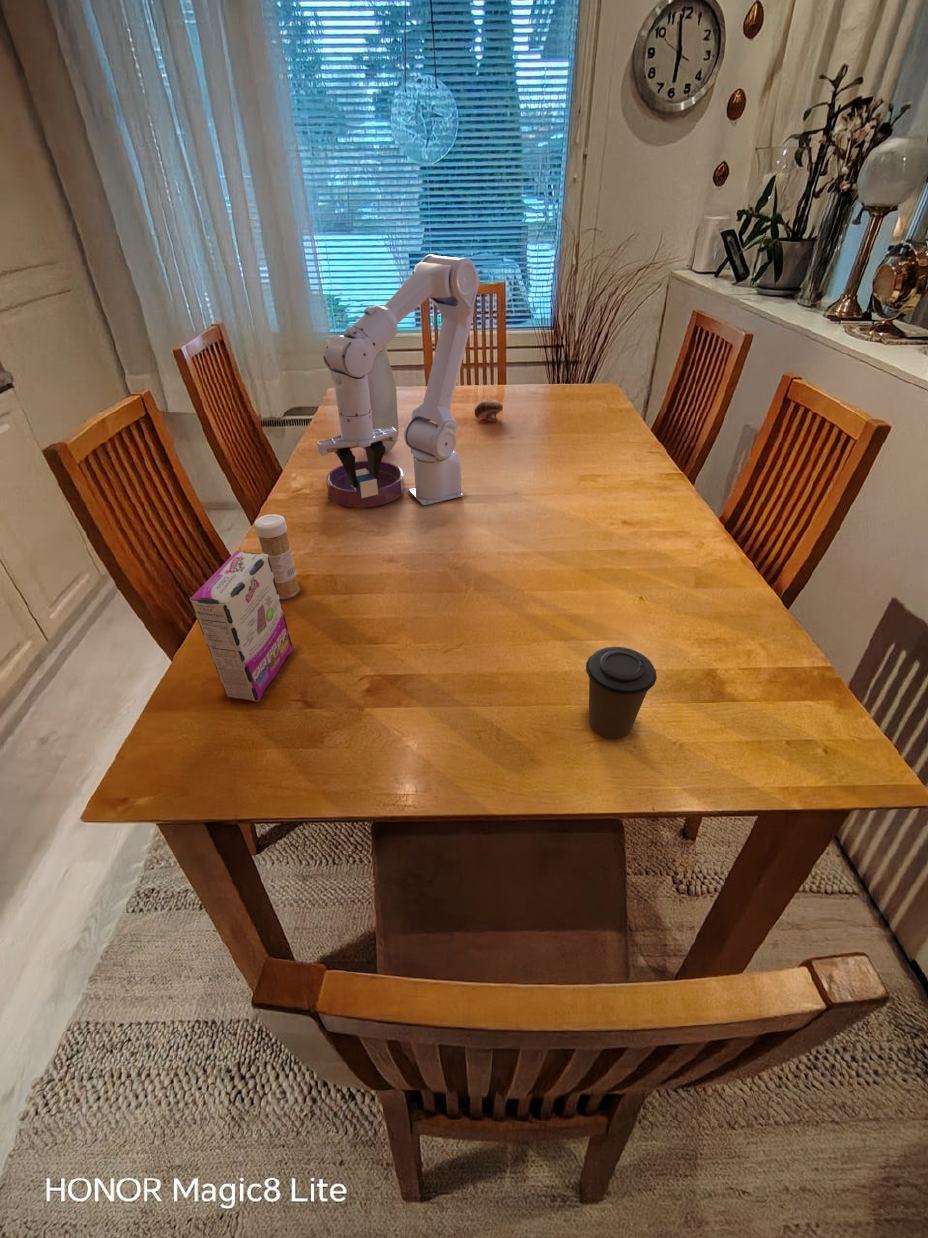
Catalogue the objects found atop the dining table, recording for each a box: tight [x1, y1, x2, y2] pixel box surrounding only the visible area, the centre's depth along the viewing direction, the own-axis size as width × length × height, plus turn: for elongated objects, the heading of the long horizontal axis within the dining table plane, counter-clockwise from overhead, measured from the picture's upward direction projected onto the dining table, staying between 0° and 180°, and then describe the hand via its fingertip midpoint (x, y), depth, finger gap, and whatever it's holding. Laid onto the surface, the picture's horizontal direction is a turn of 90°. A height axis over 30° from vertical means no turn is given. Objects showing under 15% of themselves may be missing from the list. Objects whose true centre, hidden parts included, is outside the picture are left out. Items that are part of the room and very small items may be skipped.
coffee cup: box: [585, 646, 658, 740], centre depth 71 cm, size 8×8×10 cm
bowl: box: [325, 460, 405, 508], centre depth 127 cm, size 16×16×4 cm
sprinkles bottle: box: [254, 513, 300, 600], centre depth 93 cm, size 5×5×14 cm
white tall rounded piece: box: [362, 344, 400, 453], centre depth 138 cm, size 10×10×28 cm
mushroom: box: [474, 398, 504, 423], centre depth 163 cm, size 8×8×6 cm
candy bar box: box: [189, 550, 294, 703], centre depth 77 cm, size 11×5×16 cm, turn 168°
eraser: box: [352, 469, 378, 498], centre depth 111 cm, size 6×3×3 cm, turn 28°
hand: (363, 483), depth 112 cm, fingers closed on eraser, 3 cm apart
